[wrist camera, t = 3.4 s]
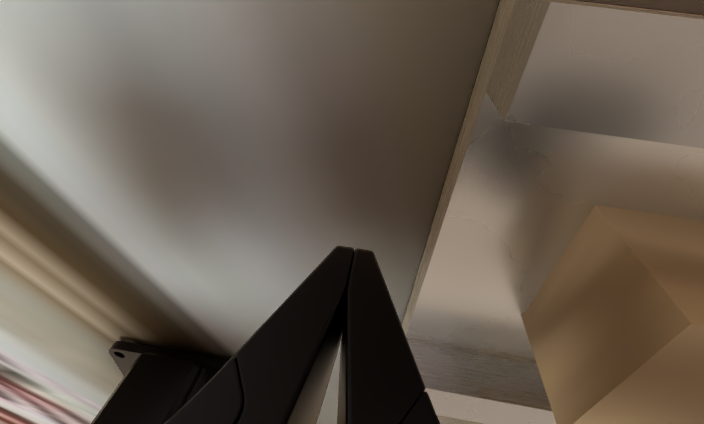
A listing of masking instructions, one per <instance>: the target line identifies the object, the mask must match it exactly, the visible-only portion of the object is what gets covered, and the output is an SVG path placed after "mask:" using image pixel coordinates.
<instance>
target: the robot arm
mask: <svg viewBox="0 0 704 424" xmlns="http://www.w3.org/2000/svg"><path fill="white" fill-rule="evenodd" d="M341 336H342V339H341ZM340 341H341V352H340V373H339V394H338V416H337V424H440V422H439V420H438V418H437V415H436V413H435V410H434V407H433V405H432V402H431V400H430V397H429V395H428V393H427V392H426V391H425V389H426V388H425V385H424V382H423V380H422V377H421V374H420V372H419V369H418V367H417V364H416V361H415V359H414V356H413V354H412V351H411V348H410V346H409V343H408V341H407V338H406V335H405V333H404V330H403V328H402V325H401V323H400V320H399V317H398V315H397V312H396V310H395V307H394V304H393V302H392V299H391V297H390V294H389V291H388V289H387V286H386V284H385V281H384V278H383V276H382V273H381V271H380V268H379V265H378V263H377V260H376V258H375V255H374V253H373V252H372V251H370V250H364V249H356V250H355V251H354V249H353V248H351V247H345V246H337V247H336V248H335V249H334V250H333V251H332V252H331V253H330V254H329V255H328V256H327V257H326V258H325V259H324V260H323V261H322V262H321V263H320V264H319V265H318V267H317V268H316V269H315V270H314V271H313V272H312V273H311V274H310V275H309V276H308V277H307V278H306V279H305V280H304V281H303V282H302V283H301V285H300V286H299V287H298V288H297V289H296V290H295V291H294V292H293V293H292V294H291V295H290V296H289V297H288V298H287V299H286V300H285V301H284V303H283V304H282V305H281V306H280V307H279V308H278V309H277V310H276V311H275V312H274V313H273V314H272V315H271V316H270V317H269V318H268V319H267V321H266V322H265V323H264V324H263V325H262V326H261V327H260V328H259V329H258V330H257V331H256V332H255V333H254V334H253V335H252V336H251V337H250V339H249V340H248V341H247V342H246V343H245V344H244V345H243V346H242V347H241V348H240V349H239V350H238V351H237V352H236V354H235V357H236V358H235V357H231V358H230V359H229V361H226V360H221V359H215V358H210V357H205V356H199V355H194V354H189V353H183V352H178V351H172V350H167V349H162V348H156V347H151V346H146V345H140V344H135V343H130V342H124V341H116V342H115V343H114V344H113V346H112V347H111V348H110V350H109V353H110V355H111V356H112V358H113V359H114V361H115V363H116V364H117V366H118V367H119V369H120V370H121V372H122V373H123V375H124V378H123V379H122V380H121V382H120V383H119V385H118V386H117V388H116V389H115V390H114V392H113V393H112V395H111V396H110V397H109V399H108V400H107V402H106V403H105V405H104V406H103V407H102V409H101V410H100V412H99V413H98V415H97V416H96V417H95V419H94V420H93V422H92V423H91V424H316V423H317V419H318V416H319V413H320V409H321V406H322V403H323V399H324V396H325V393H326V389H327V386H328V383H329V379H330V376H331V373H332V369H333V366H334V362H335V359H336V356H337V352H338V349H339V345H340Z"/></svg>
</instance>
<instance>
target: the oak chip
mask: <svg viewBox="0 0 704 424" xmlns="http://www.w3.org/2000/svg"><path fill="white" fill-rule="evenodd" d="M522 321H523V324H524V327H525V330H526V333H527V336H528V339H529V342H530V345H531V348H532V351H533V354H534V357H535V360H536V363H537V366H538V369H539V372H540V375H541V378H542V381H543V384H544V387H545V390H546V393H547V396H548V399H549V402H550V405H551V409H552V412H553V415H554V418H555V421H556V424H704V221H701V220H694V219H687V218H681V217H674V216H667V215H661V214H654V213H647V212H640V211H634V210H627V209H620V208H614V207H607V206H600V205H595V206H594V207H593V209H592V211H591V212H590V214H589V215H588V217H587V218H586V220H585V221H584V223H583V224H582V226H581V227H580V229H579V230H578V232H577V233H576V235H575V236H574V238H573V240H572V241H571V243H570V244H569V246H568V247H567V249H566V250H565V252H564V253H563V255H562V256H561V258H560V259H559V261H558V262H557V264H556V265H555V267H554V269H553V270H552V272H551V273H550V275H549V276H548V278H547V279H546V281H545V282H544V284H543V285H542V287H541V288H540V290H539V291H538V293H537V294H536V296H535V298H534V299H533V301H532V302H531V304H530V305H529V307H528V308H527V310H526V311H525V313H524V314H523V316H522Z"/></svg>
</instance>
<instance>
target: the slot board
mask: <svg viewBox="0 0 704 424" xmlns="http://www.w3.org/2000/svg"><path fill="white" fill-rule="evenodd" d="M595 205H600V206H607V207H614V208H620V209H627V210H634V211H640V212H647V213H654V214H661V215H667V216H674V217H681V218H687V219H694V220H701V221H704V15H696V14H687V13H679V12H670V11H661V10H652V9H644V8H635V7H626V6H618V5H609V4H600V3H592V2H583V1H574V0H500V3H499V6H498V10H497V13H496V16H495V20H494V23H493V26H492V29H491V33H490V36H489V39H488V43H487V46H486V49H485V52H484V56H483V59H482V62H481V66H480V69H479V72H478V76H477V79H476V82H475V85H474V89H473V92H472V95H471V99H470V102H469V105H468V108H467V112H466V115H465V118H464V122H463V125H462V128H461V131H460V135H459V138H458V141H457V145H456V148H455V151H454V154H453V158H452V161H451V164H450V168H449V171H448V174H447V177H446V181H445V184H444V187H443V191H442V194H441V197H440V200H439V204H438V207H437V210H436V214H435V217H434V220H433V223H432V227H431V230H430V233H429V237H428V240H427V243H426V246H425V250H424V253H423V256H422V260H421V263H420V266H419V269H418V273H417V276H416V279H415V283H414V286H413V289H412V292H411V296H410V299H409V302H408V306H407V309H406V312H405V315H404V319H403V322H402V328H403V330H404V333H405V335H406V338H407V341H408V343H409V346H410V348H411V351H412V354H413V356H414V359H415V361H416V364H417V367H418V369H419V372H420V374H421V377H422V380H423V382H424V385H425V388H426V389H425V391H426V392H427V393H428V395H429V397H430V400H431V402H432V405H433V407H434V410H435V413H436V415H441V416H446V417H452V418H457V419H462V420H467V421H473V422H478V423H483V424H556V421H555V418H554V415H553V412H552V409H551V405H550V402H549V399H548V396H547V393H546V390H545V387H544V384H543V381H542V378H541V375H540V372H539V369H538V366H537V363H536V360H535V357H534V354H533V351H532V348H531V345H530V342H529V339H528V336H527V333H526V330H525V327H524V324H523V321H522V316H523V314H524V313H525V311H526V310H527V308H528V307H529V305H530V304H531V302H532V301H533V299H534V298H535V296H536V294H537V293H538V291H539V290H540V288H541V287H542V285H543V284H544V282H545V281H546V279H547V278H548V276H549V275H550V273H551V272H552V270H553V269H554V267H555V265H556V264H557V262H558V261H559V259H560V258H561V256H562V255H563V253H564V252H565V250H566V249H567V247H568V246H569V244H570V243H571V241H572V240H573V238H574V236H575V235H576V233H577V232H578V230H579V229H580V227H581V226H582V224H583V223H584V221H585V220H586V218H587V217H588V215H589V214H590V212H591V211H592V209H593V207H594V206H595Z"/></svg>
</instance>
